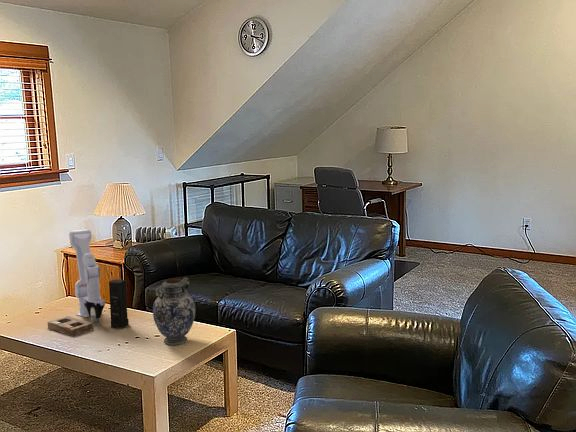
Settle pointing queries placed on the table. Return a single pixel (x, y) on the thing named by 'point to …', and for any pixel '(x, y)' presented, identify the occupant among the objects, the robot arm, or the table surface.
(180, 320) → the decorative vase
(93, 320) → the steel peg
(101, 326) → the table surface
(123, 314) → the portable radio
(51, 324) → the socket board
